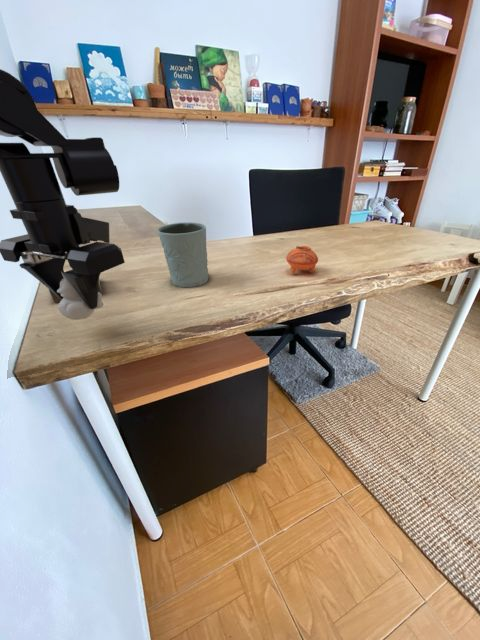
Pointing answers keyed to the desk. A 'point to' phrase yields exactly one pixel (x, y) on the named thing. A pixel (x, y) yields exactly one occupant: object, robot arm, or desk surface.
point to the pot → (302, 259)
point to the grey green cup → (185, 253)
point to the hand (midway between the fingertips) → (81, 305)
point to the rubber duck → (74, 302)
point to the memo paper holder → (65, 268)
